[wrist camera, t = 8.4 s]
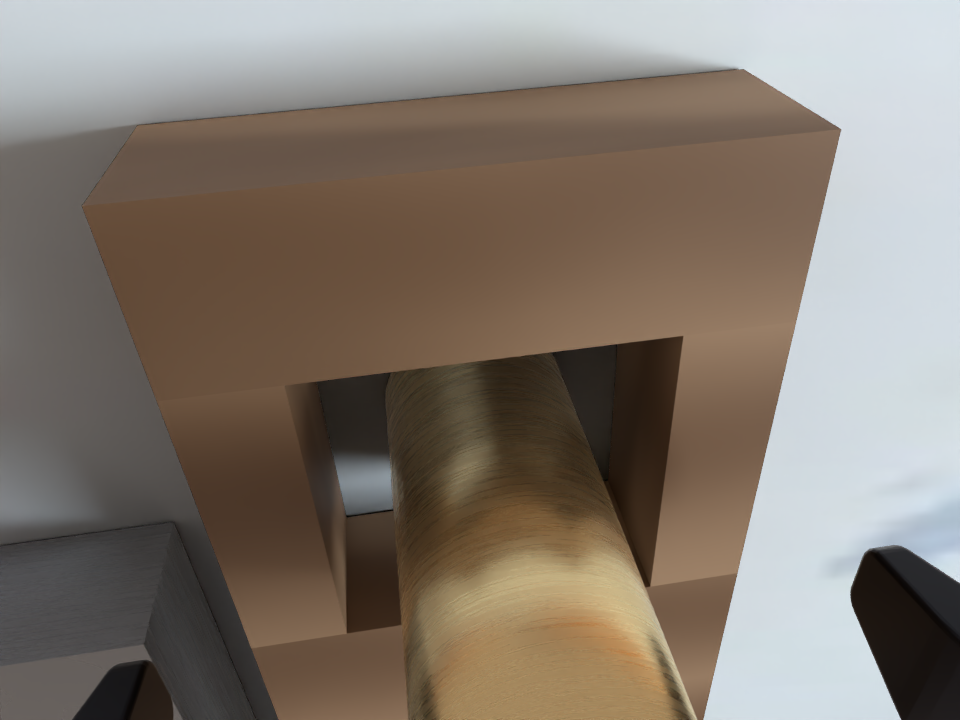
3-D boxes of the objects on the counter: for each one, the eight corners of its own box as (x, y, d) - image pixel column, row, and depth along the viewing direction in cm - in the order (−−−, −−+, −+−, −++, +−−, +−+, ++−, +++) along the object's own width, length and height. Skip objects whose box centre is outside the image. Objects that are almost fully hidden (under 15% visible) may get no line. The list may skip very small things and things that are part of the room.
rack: (641, 747, 21) (673, 846, 19) (349, 798, 20) (350, 907, 18) (743, 69, 10) (841, 129, 8) (137, 125, 10) (81, 206, 8)
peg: (559, 448, 14) (796, 1135, 7) (396, 470, 14) (454, 1214, 6) (562, 309, 12) (887, 1037, 5) (374, 331, 12) (422, 1138, 5)
